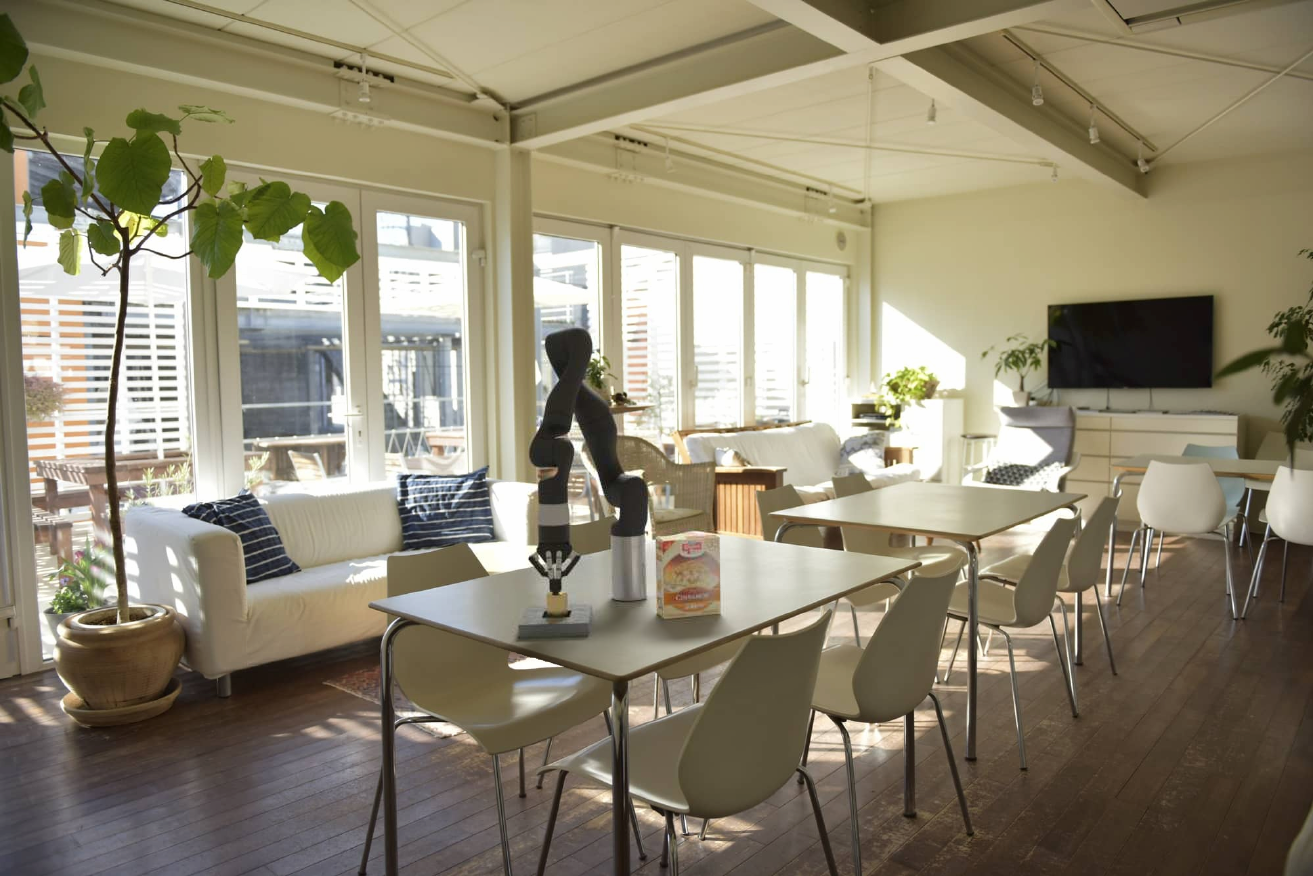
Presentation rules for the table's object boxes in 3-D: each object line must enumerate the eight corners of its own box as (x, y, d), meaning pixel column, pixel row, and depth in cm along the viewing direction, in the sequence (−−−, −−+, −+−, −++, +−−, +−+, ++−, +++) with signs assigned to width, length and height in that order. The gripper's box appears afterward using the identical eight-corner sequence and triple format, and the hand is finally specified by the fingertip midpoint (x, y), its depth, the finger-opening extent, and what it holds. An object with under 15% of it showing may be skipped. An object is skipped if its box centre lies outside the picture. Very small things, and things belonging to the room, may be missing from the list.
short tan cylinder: (568, 623, 223) (567, 591, 223) (567, 629, 218) (566, 595, 218) (548, 624, 223) (547, 591, 223) (546, 629, 218) (545, 596, 218)
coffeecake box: (664, 620, 225) (662, 540, 223) (656, 613, 231) (654, 536, 230) (722, 614, 229) (720, 536, 228) (712, 607, 236) (710, 532, 234)
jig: (592, 616, 230) (592, 604, 230) (588, 635, 212) (588, 623, 212) (528, 618, 229) (527, 606, 229) (518, 637, 211) (518, 625, 211)
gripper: (582, 518, 223) (584, 589, 224) (527, 520, 223) (529, 591, 224) (580, 523, 215) (582, 596, 217) (523, 524, 215) (526, 598, 216)
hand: (555, 593), depth 220 cm, fingers closed
